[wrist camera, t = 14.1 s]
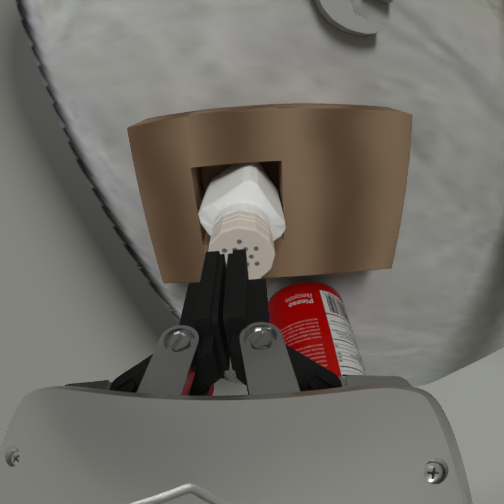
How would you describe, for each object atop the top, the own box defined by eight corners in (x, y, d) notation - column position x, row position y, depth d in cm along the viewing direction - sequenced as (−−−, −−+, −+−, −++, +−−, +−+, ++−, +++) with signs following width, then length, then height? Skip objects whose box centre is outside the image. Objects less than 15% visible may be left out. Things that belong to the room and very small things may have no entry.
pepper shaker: (251, 150, 21) (252, 202, 13) (281, 193, 22) (299, 266, 14) (206, 180, 22) (181, 247, 14) (237, 219, 24) (231, 301, 16)
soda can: (350, 277, 28) (401, 418, 15) (329, 333, 32) (357, 458, 19) (268, 272, 27) (281, 430, 15) (259, 331, 31) (263, 466, 19)
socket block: (387, 107, 19) (412, 114, 16) (375, 242, 26) (391, 268, 22) (146, 118, 20) (127, 127, 16) (173, 255, 26) (163, 283, 23)
